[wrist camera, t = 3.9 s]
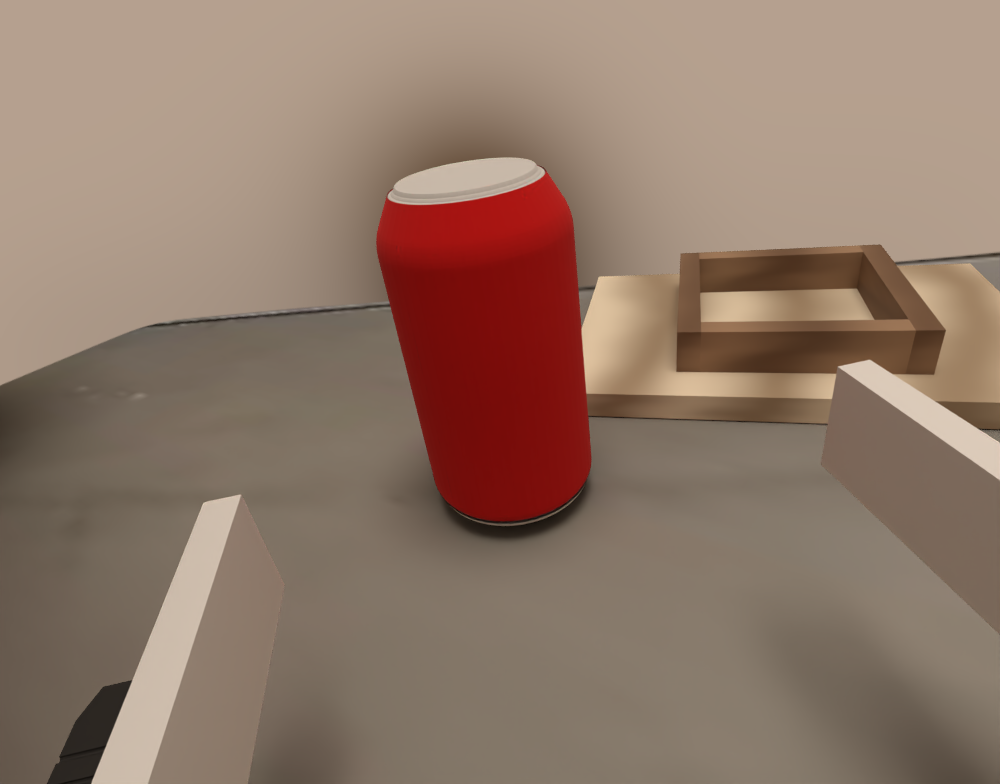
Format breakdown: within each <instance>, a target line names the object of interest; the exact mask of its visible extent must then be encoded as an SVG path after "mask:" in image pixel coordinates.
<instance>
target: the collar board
mask: <svg viewBox="0 0 1000 784" xmlns="http://www.w3.org/2000/svg"><path fill="white" fill-rule="evenodd" d="M680 260H681V261H680V274H663V275H635V276H609V277H608V276H607V277H599V279H598V282H597V285H596V288H595V291H594V294H593V297H592V300H591V303H590V306H589V309H588V312H587V315H586V318H585V321H584V323H583V326H582V329H581V330H582V343H583V356H584V369H585V382H586V395H587V408H588V416H608V417H638V418H669V419H699V420H730V421H760V422H791V423H821V424H828V419H829V414H830V408H831V402H832V396H833V391H834V385H835V379H836V373H837V368H838V366H843V365H847V364H852V363H857V362H861V361H866V360H871V361H873V362H874V363H876V364H877V365H879V366H881V367H882V368H884V369H885V370H887V371H888V372H890V373H891V374H893V375H895V376H896V377H898V378H899V379H901V380H902V381H904V382H906V383H907V384H909V385H910V386H912V387H913V388H915V389H916V390H918V391H920V392H921V393H923V394H924V395H926V396H927V397H929V398H931V399H932V400H934V401H935V402H937V403H938V404H940V405H942V406H943V407H945V408H946V409H948V410H949V411H951V412H952V413H954V414H956V415H957V416H959V417H960V418H962V419H963V420H965V421H967V422H968V423H970V424H971V425H973V426H974V427H976V428H977V429H1000V292H999V291H998V290H997V289H996V288H995V287H994V286H993V285H992V284H991V283H990V282H989V281H988V280H987V279H985V278H984V277H983V276H982V275H981V274H980V273H979V272H978V271H977V270H976V269H975V268H974V267H973V266H972V265H971V264H943V265H915V266H897V265H896V264H895V263H894V261H893V260H892V259H891V258H890V256H889V255H888V254H887V252H886V251H885V250H884V248H883V247H882V246H881V245H862V246H842V247H841V246H840V247H817V248H796V249H773V250H751V251H732V252H731V251H729V252H706V253H685V254H681V259H680Z"/></svg>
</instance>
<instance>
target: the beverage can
mask: <svg viewBox="0 0 1000 784" xmlns="http://www.w3.org/2000/svg"><path fill="white" fill-rule="evenodd" d="M376 244H377V254H378V258H379V263H380V267H381V270H382V274H383V278H384V282H385V286H386V290H387V294H388V298H389V302H390V306H391V310H392V314H393V318H394V322H395V326H396V330H397V334H398V338H399V342H400V345H401V349H402V353H403V357H404V361H405V365H406V369H407V373H408V377H409V381H410V385H411V389H412V393H413V397H414V401H415V405H416V409H417V413H418V417H419V420H420V424H421V428H422V432H423V436H424V440H425V444H426V448H427V452H428V456H429V460H430V464H431V468H432V472H433V476H434V480H435V483H436V486H437V488H438V490H439V492H440V494H441V495H442V496H443V498H444V499H445V500H446V502H447V503H448V504H449V505H450V506H451V507H452V508H453V509H454V510H455V511H456V512H458V513H459V514H461V515H462V516H464V517H466V518H468V519H470V520H473V521H476V522H479V523H483V524H488V525H495V526H515V525H523V524H528V523H532V522H536V521H539V520H542V519H545V518H547V517H550V516H552V515H554V514H556V513H557V512H559V511H561V510H562V509H564V508H565V507H567V506H568V505H569V504H570V503H571V502H572V501H573V500H574V499H575V498H576V497H577V496H578V495H579V494H580V492H581V491H582V489H583V487H584V485H585V483H586V481H587V477H588V474H589V471H590V468H591V447H590V434H589V421H588V408H587V395H586V382H585V369H584V356H583V343H582V330H581V317H580V304H579V291H578V278H577V265H576V252H575V240H574V227H573V219H572V215H571V211H570V209H569V206H568V204H567V202H566V200H565V198H564V197H563V196H562V194H561V192H560V191H559V190H558V188H557V187H556V185H555V183H554V182H553V180H552V179H551V177H550V176H549V174H548V173H547V171H546V170H545V169H544V168H543V167H541V166H538V165H536V164H535V163H534V162H533V161H531V160H527V159H522V158H490V159H480V160H472V161H465V162H459V163H454V164H448V165H444V166H439V167H435V168H431V169H428V170H424V171H421V172H418V173H415V174H413V175H410V176H407V177H405V178H403V179H402V180H400V181H398V182H397V183H396V184H395V186H394V188H393V189H392V190H390V191H389V193H388V194H387V197H386V201H385V205H384V208H383V212H382V216H381V219H380V223H379V227H378V231H377V241H376Z"/></svg>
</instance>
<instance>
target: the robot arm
mask: <svg viewBox="0 0 1000 784" xmlns="http://www.w3.org/2000/svg"><path fill="white" fill-rule="evenodd" d="M821 465H822V466H823V467H824V468H825V469H826V470H827V471H828V472H829V473H830V474H832V475H833V476H834V477H835V478H836V479H837V480H838V481H839V482H840V483H841V484H842V485H843V486H844V487H845V488H846V489H847V490H848V491H849V492H850V493H852V494H853V495H854V496H855V497H856V498H857V499H858V500H859V501H860V502H861V503H862V504H863V505H864V506H865V507H866V508H867V509H868V510H869V511H870V512H871V513H873V514H874V515H875V516H876V517H877V518H878V519H879V520H880V521H881V522H882V523H883V524H884V525H885V526H886V527H887V528H888V529H889V530H890V531H891V532H892V533H894V534H895V535H896V536H897V537H898V538H899V539H900V540H901V541H902V542H903V543H904V544H905V545H906V546H907V547H908V548H909V549H910V550H911V551H912V552H914V553H915V554H916V555H917V556H918V557H919V558H920V559H921V560H922V561H923V562H924V563H925V564H926V565H927V566H928V567H929V568H930V569H931V570H932V571H933V572H935V573H936V574H937V575H938V576H939V577H940V578H941V579H942V580H943V581H944V582H945V583H946V584H947V585H948V586H949V587H950V588H951V589H952V590H953V591H954V592H956V593H957V594H958V595H959V596H960V597H961V598H962V599H963V600H964V601H965V602H966V603H967V604H968V605H969V606H970V607H971V608H972V609H973V610H974V611H976V612H977V613H978V614H979V615H980V616H981V617H982V618H983V619H984V620H985V621H986V622H987V623H988V624H989V625H990V626H991V627H992V628H993V629H994V630H995V631H997V632H998V633H999V634H1000V443H999V442H998V441H996V440H995V439H993V438H992V437H990V436H988V435H987V434H985V433H984V432H982V431H981V430H979V429H977V428H976V427H974V426H973V425H971V424H970V423H968V422H967V421H965V420H963V419H962V418H960V417H959V416H957V415H956V414H954V413H952V412H951V411H949V410H948V409H946V408H945V407H943V406H942V405H940V404H938V403H937V402H935V401H934V400H932V399H931V398H929V397H927V396H926V395H924V394H923V393H921V392H920V391H918V390H916V389H915V388H913V387H912V386H910V385H909V384H907V383H906V382H904V381H902V380H901V379H899V378H898V377H896V376H895V375H893V374H891V373H890V372H888V371H887V370H885V369H884V368H882V367H881V366H879V365H877V364H876V363H874V362H873V361H871V360H866V361H861V362H857V363H852V364H847V365H843V366H838V368H837V373H836V379H835V385H834V391H833V396H832V402H831V408H830V414H829V419H828V425H827V431H826V437H825V443H824V448H823V454H822V460H821ZM284 587H285V585H284V583H283V581H282V579H281V577H280V575H279V572H278V570H277V568H276V566H275V564H274V562H273V560H272V558H271V556H270V554H269V551H268V549H267V547H266V545H265V543H264V541H263V539H262V537H261V535H260V532H259V530H258V528H257V526H256V524H255V522H254V520H253V518H252V516H251V514H250V511H249V509H248V507H247V505H246V503H245V501H244V499H243V497H242V495H236V496H231V497H227V498H222V499H217V500H213V501H208V502H204V503H203V505H202V508H201V510H200V513H199V515H198V518H197V520H196V523H195V525H194V528H193V530H192V533H191V535H190V538H189V540H188V543H187V545H186V548H185V550H184V553H183V555H182V558H181V560H180V563H179V565H178V568H177V570H176V573H175V575H174V578H173V580H172V583H171V585H170V588H169V590H168V593H167V595H166V598H165V600H164V603H163V605H162V608H161V610H160V613H159V615H158V618H157V620H156V623H155V625H154V628H153V630H152V633H151V635H150V638H149V640H148V643H147V645H146V648H145V650H144V653H143V655H142V658H141V660H140V663H139V665H138V668H137V670H136V673H135V675H134V678H133V680H131V681H127V682H122V683H118V684H114V685H110V686H105V687H103V688H102V689H101V690H100V692H99V693H98V694H97V695H96V696H95V698H94V699H93V700H92V701H91V703H90V704H89V705H88V706H87V708H86V709H85V710H84V711H83V713H82V714H81V715H80V716H79V718H78V719H77V720H76V722H75V724H74V726H73V728H72V730H71V733H70V735H69V737H68V739H67V741H66V743H65V746H64V748H63V750H62V752H61V754H60V756H59V757H60V762H59V763H58V764H56V765H55V767H54V770H53V772H52V774H51V776H50V778H49V780H48V783H47V784H248V779H249V774H250V768H251V763H252V758H253V752H254V747H255V742H256V736H257V731H258V726H259V720H260V715H261V710H262V704H263V699H264V694H265V688H266V683H267V677H268V672H269V667H270V661H271V656H272V651H273V645H274V640H275V635H276V629H277V624H278V619H279V613H280V608H281V603H282V597H283V592H284Z"/></svg>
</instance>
